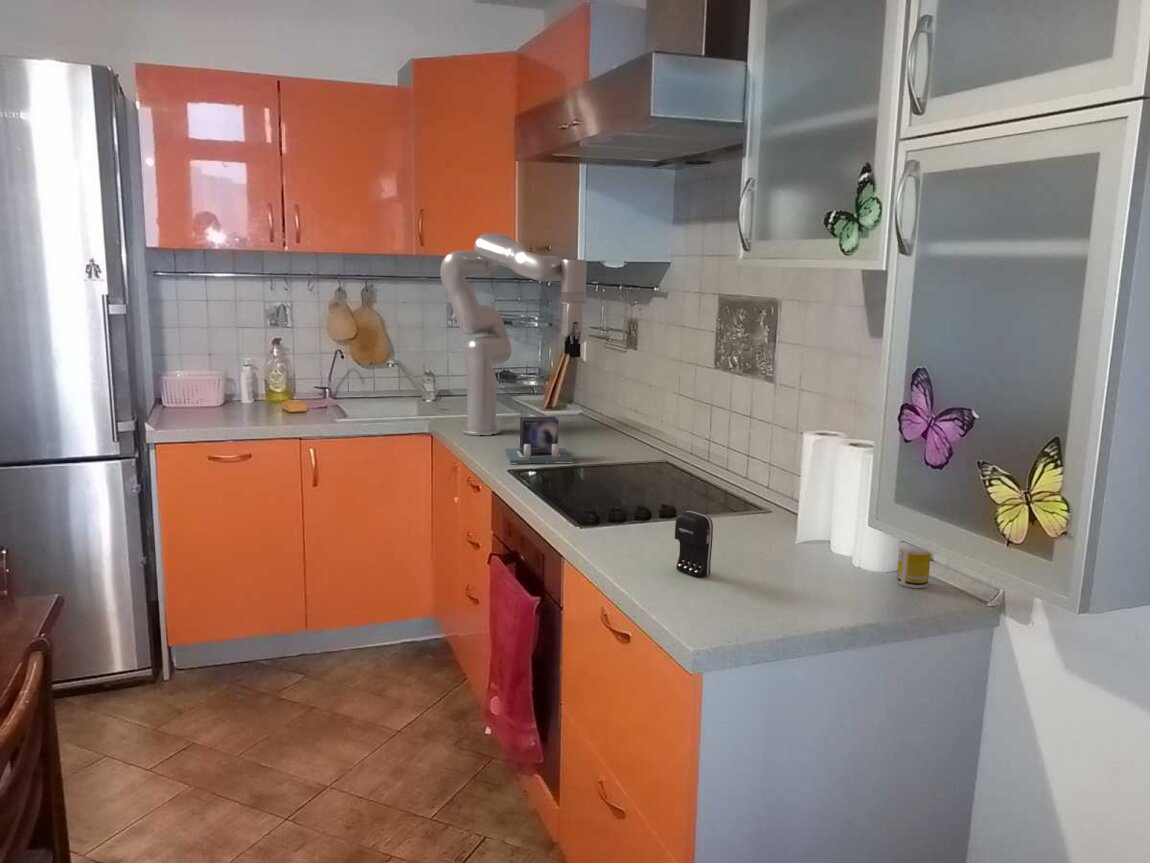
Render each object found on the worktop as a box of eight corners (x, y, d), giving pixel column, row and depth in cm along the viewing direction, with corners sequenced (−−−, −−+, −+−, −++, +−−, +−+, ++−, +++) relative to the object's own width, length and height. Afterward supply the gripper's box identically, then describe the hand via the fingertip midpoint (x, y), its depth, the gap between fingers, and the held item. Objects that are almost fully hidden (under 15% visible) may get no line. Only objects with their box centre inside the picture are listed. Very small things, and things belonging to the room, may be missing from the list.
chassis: (505, 452, 271) (505, 435, 270) (564, 451, 274) (565, 434, 273) (510, 464, 255) (510, 446, 254) (573, 463, 258) (573, 445, 257)
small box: (522, 456, 260) (522, 420, 258) (518, 451, 266) (519, 416, 264) (558, 455, 262) (559, 419, 260) (554, 450, 269) (554, 415, 267)
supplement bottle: (934, 586, 165) (939, 534, 163) (914, 591, 162) (919, 538, 161) (910, 577, 170) (914, 526, 168) (889, 581, 167) (894, 530, 165)
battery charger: (670, 570, 171) (672, 511, 169) (684, 566, 173) (686, 508, 171) (697, 580, 166) (700, 520, 163) (711, 576, 168) (714, 516, 166)
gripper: (556, 297, 281) (556, 352, 284) (565, 300, 265) (564, 358, 268) (580, 297, 283) (579, 352, 286) (590, 300, 266) (589, 358, 269)
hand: (572, 355), depth 277 cm, fingers open, 9 cm apart
